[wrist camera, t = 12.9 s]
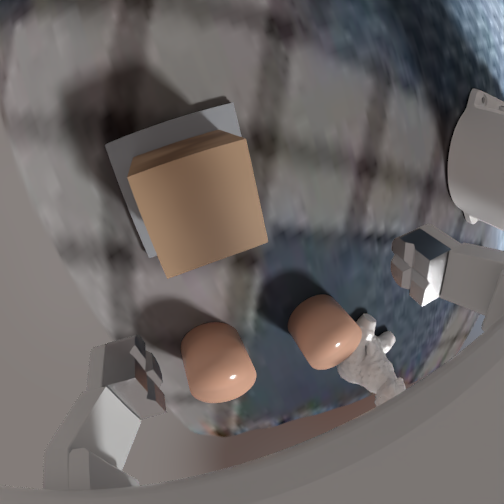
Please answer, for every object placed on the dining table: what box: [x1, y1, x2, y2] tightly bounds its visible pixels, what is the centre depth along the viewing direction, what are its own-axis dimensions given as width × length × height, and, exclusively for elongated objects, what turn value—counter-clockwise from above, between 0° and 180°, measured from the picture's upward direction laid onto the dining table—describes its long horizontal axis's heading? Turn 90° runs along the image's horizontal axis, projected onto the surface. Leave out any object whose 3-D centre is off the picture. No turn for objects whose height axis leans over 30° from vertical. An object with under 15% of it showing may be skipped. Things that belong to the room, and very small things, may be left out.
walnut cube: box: [127, 130, 268, 279], centre depth 18 cm, size 6×6×6 cm
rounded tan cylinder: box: [288, 294, 362, 370], centre depth 30 cm, size 6×6×5 cm
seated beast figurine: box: [337, 313, 406, 406], centre depth 32 cm, size 10×9×12 cm
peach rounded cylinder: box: [181, 322, 256, 403], centre depth 27 cm, size 6×6×5 cm
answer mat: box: [105, 102, 242, 258], centre depth 20 cm, size 9×9×1 cm
